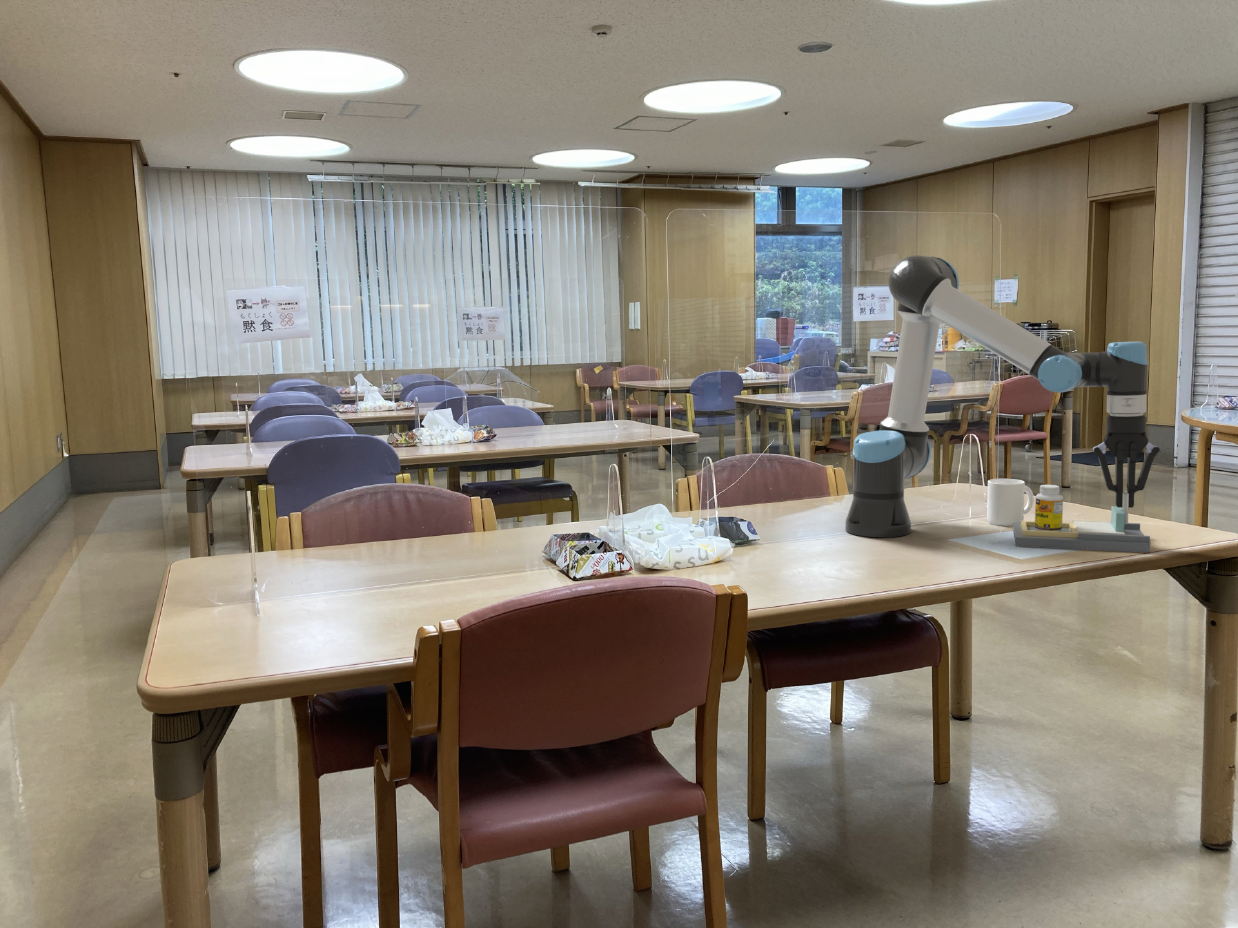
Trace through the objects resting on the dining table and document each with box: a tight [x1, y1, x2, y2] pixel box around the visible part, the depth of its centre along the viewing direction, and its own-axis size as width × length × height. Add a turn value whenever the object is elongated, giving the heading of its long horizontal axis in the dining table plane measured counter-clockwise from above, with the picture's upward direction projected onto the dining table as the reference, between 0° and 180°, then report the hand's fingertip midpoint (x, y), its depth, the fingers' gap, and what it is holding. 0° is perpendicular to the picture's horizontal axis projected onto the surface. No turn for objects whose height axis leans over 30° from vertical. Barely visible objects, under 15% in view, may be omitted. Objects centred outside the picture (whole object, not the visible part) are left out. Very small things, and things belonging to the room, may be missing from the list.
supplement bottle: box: [1034, 484, 1064, 531], centre depth 211 cm, size 6×6×10 cm
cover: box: [1072, 505, 1125, 535], centre depth 208 cm, size 9×11×5 cm
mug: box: [986, 478, 1035, 527], centre depth 230 cm, size 12×8×10 cm
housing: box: [1012, 520, 1151, 553], centre depth 209 cm, size 26×16×3 cm, turn 69°
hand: (1124, 521), depth 206 cm, fingers closed
